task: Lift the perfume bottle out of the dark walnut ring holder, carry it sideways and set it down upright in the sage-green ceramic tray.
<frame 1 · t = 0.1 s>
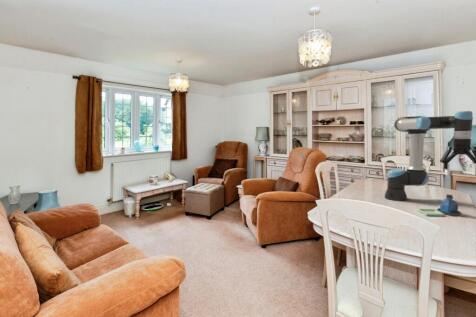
hand: (460, 174, 144), 28 cm above the table, fingers open, 13 cm apart
ring holder: (448, 213, 160), on the table
tray: (430, 213, 160), on the table
perfume bottle: (448, 213, 160), resting in ring holder
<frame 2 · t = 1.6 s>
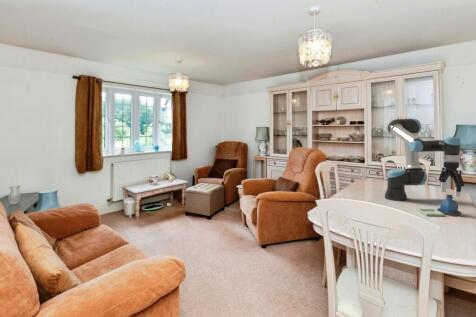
hand: (450, 194, 158), 13 cm above the table, fingers open, 13 cm apart
nothing on the table moved.
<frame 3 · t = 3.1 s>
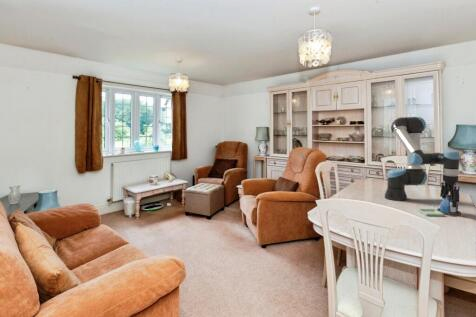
hand: (448, 209, 159), 2 cm above the table, fingers closed on perfume bottle, 7 cm apart
perfume bottle: (448, 213, 160), resting in ring holder, touching gripper
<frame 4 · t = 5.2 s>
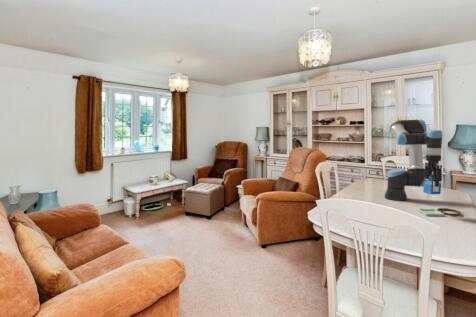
hand: (431, 189, 158), 16 cm above the table, fingers closed on perfume bottle, 7 cm apart
perfume bottle: (431, 193, 158), point 13 cm above the table, touching gripper
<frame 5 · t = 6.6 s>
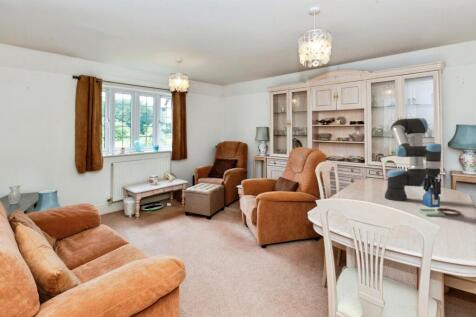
hand: (431, 202, 159), 7 cm above the table, fingers closed on perfume bottle, 7 cm apart
perfume bottle: (431, 206, 159), point 5 cm above the table, touching gripper
when the fingers open (4 cm above the table, at t = 7.6 s): perfume bottle drops 1 cm, resting on tray.
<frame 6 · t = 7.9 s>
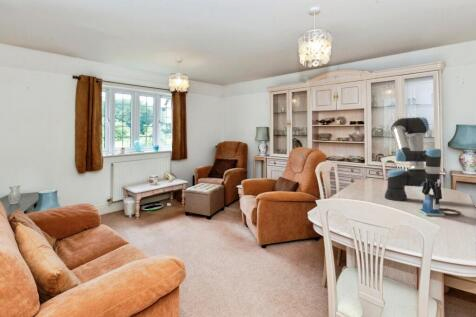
hand: (430, 206, 159), 5 cm above the table, fingers open, 10 cm apart
perfume bottle: (430, 213, 160), resting on tray
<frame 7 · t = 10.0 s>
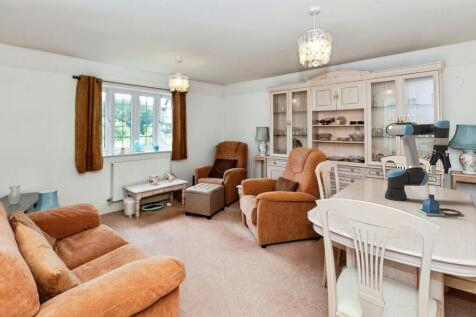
hand: (438, 176, 161), 23 cm above the table, fingers open, 13 cm apart
nothing on the table moved.
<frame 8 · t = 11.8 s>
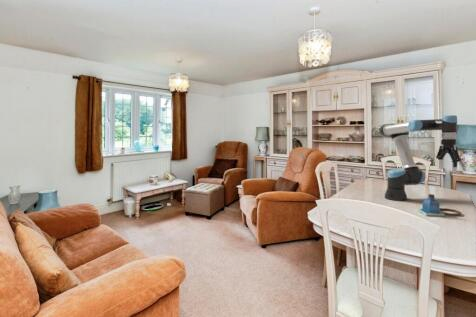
hand: (446, 170, 165), 27 cm above the table, fingers open, 13 cm apart
nothing on the table moved.
at the end: perfume bottle inside the target area on the tray (0.1 cm from its centre), point 0.3 cm above the tray's base; perfume bottle tilted 0°; the gripper is holding nothing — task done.
